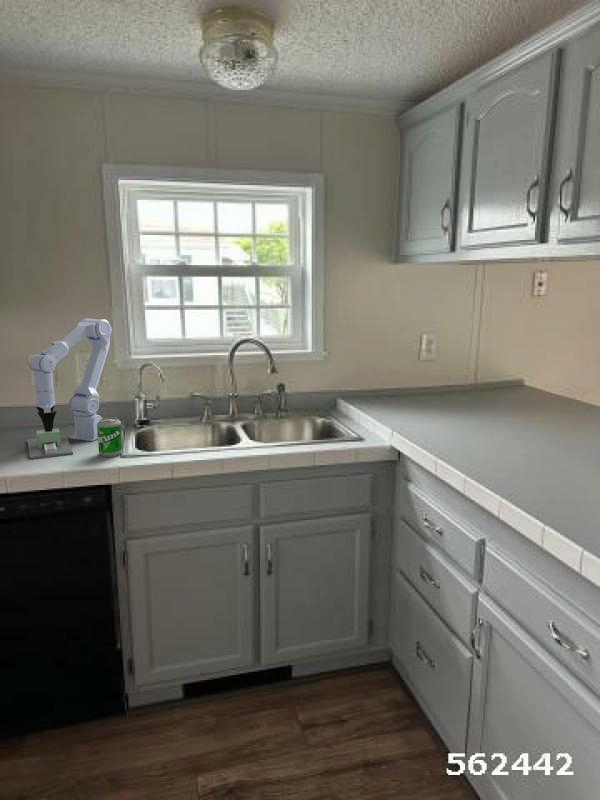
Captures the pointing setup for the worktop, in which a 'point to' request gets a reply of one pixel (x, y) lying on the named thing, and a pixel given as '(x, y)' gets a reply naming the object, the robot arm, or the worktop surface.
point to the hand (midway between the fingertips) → (48, 428)
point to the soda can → (109, 437)
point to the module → (48, 437)
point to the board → (41, 451)
